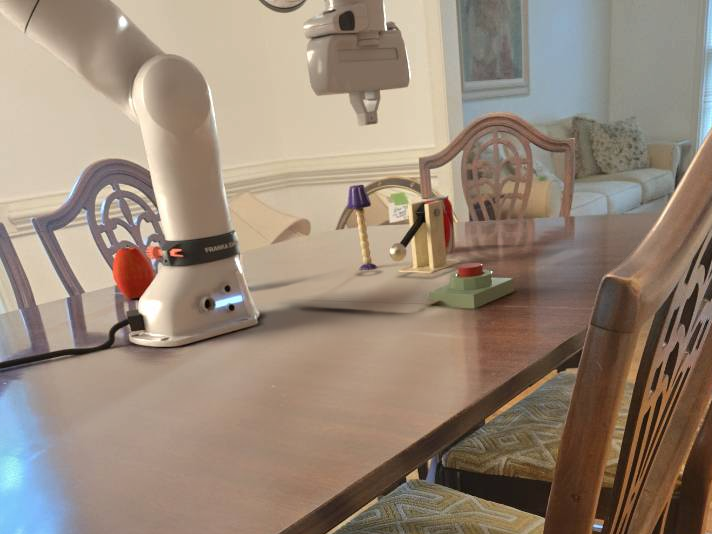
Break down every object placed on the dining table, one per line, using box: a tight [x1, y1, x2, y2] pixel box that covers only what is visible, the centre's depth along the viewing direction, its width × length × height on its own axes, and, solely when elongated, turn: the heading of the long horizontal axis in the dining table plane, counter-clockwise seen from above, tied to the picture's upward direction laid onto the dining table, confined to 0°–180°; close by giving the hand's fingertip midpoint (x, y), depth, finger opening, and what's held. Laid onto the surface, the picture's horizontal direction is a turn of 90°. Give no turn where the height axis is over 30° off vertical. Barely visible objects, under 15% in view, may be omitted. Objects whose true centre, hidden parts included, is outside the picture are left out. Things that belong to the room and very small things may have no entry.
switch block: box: [427, 269, 515, 310], centre depth 128 cm, size 12×9×4 cm
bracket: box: [398, 200, 462, 274], centre depth 150 cm, size 10×8×13 cm
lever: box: [389, 203, 427, 262], centre depth 146 cm, size 14×3×3 cm, turn 142°
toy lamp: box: [347, 184, 378, 271], centre depth 155 cm, size 5×5×17 cm
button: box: [457, 262, 484, 277], centre depth 126 cm, size 4×4×2 cm
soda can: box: [420, 194, 456, 255], centre depth 164 cm, size 7×7×12 cm
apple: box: [112, 245, 156, 300], centre depth 159 cm, size 8×8×11 cm
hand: (368, 125), depth 123 cm, fingers closed
